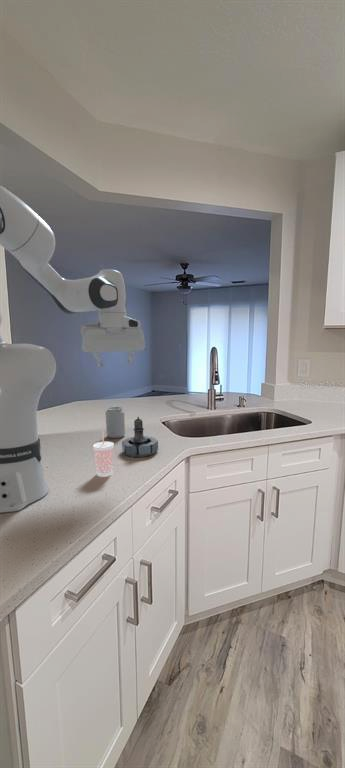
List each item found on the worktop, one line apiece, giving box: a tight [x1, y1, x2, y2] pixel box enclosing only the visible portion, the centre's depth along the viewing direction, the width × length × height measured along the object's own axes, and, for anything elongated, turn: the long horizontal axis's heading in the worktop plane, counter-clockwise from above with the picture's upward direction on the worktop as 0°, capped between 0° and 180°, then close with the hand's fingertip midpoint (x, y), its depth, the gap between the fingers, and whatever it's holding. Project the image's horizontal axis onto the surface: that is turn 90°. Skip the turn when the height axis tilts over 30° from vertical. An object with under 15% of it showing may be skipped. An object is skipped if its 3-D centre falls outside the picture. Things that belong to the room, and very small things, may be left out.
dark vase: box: [131, 416, 147, 445], centre depth 119 cm, size 6×6×12 cm
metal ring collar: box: [121, 435, 159, 458], centre depth 120 cm, size 12×12×4 cm
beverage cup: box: [92, 427, 115, 478], centre depth 100 cm, size 6×6×14 cm
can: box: [105, 406, 126, 439], centre depth 139 cm, size 8×8×12 cm
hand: (115, 365), depth 111 cm, fingers open, 8 cm apart
